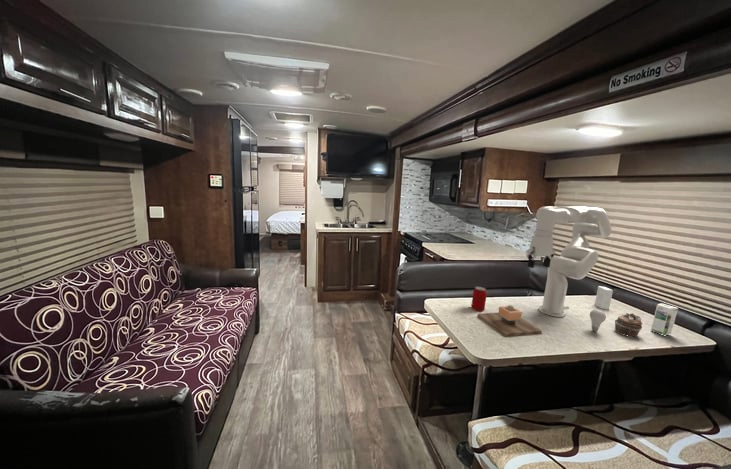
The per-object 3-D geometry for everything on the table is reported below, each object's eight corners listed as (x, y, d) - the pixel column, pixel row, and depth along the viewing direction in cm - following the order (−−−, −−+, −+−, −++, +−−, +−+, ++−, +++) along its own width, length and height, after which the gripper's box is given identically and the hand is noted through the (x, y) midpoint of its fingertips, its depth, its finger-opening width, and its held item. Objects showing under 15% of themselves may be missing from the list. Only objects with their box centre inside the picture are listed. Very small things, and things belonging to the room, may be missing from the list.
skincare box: (609, 309, 166) (613, 290, 164) (602, 309, 166) (606, 289, 164) (600, 305, 172) (605, 286, 170) (593, 304, 172) (597, 286, 170)
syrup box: (649, 331, 142) (656, 304, 139) (656, 329, 144) (663, 302, 141) (664, 337, 136) (672, 308, 134) (671, 335, 139) (678, 307, 136)
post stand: (509, 314, 151) (512, 297, 149) (541, 333, 132) (545, 314, 130) (477, 316, 146) (479, 299, 144) (505, 336, 127) (508, 317, 125)
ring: (509, 313, 142) (511, 305, 142) (520, 319, 136) (522, 312, 135) (498, 314, 140) (499, 306, 140) (508, 320, 134) (509, 312, 133)
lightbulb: (598, 335, 134) (603, 313, 132) (583, 329, 139) (588, 308, 137) (604, 333, 137) (609, 311, 135) (590, 327, 142) (594, 306, 140)
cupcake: (623, 327, 143) (627, 309, 142) (644, 338, 134) (649, 318, 132) (607, 328, 142) (611, 309, 140) (628, 338, 132) (633, 318, 131)
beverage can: (482, 307, 158) (485, 286, 156) (486, 312, 151) (489, 291, 149) (469, 306, 158) (472, 285, 156) (473, 311, 152) (475, 289, 150)
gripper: (551, 232, 145) (545, 264, 148) (523, 232, 140) (518, 265, 143) (564, 234, 138) (558, 268, 141) (535, 235, 133) (530, 269, 136)
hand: (538, 267), depth 142 cm, fingers open, 9 cm apart
